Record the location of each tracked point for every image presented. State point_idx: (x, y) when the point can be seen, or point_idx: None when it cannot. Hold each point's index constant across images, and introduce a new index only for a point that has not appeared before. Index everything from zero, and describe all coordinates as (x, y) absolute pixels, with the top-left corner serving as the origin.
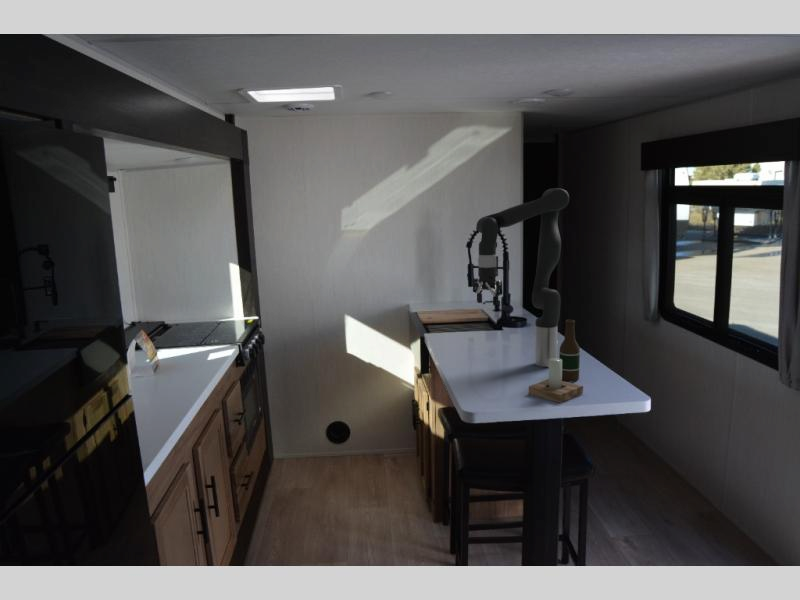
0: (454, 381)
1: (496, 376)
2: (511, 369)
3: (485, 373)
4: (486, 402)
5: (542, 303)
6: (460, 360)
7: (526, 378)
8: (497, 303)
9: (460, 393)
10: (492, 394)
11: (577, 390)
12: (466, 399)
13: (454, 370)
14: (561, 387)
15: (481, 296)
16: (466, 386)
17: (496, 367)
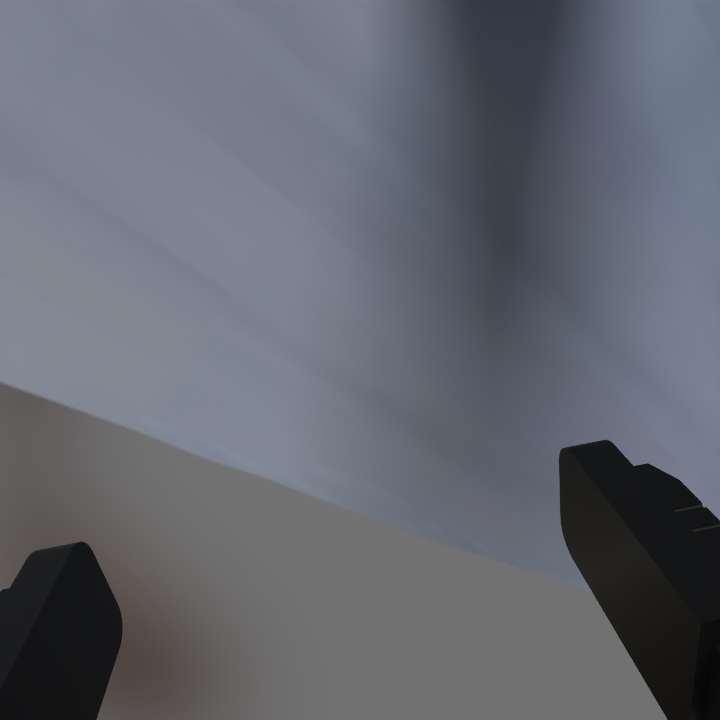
0: (398, 505)
1: (477, 281)
2: (425, 85)
3: (386, 297)
4: None
5: None
6: (12, 245)
7: (635, 154)
8: (654, 486)
9: (553, 563)
10: (665, 470)
11: None
12: None
13: (223, 408)
14: None
15: (16, 702)
16: (498, 500)
17: (319, 143)
